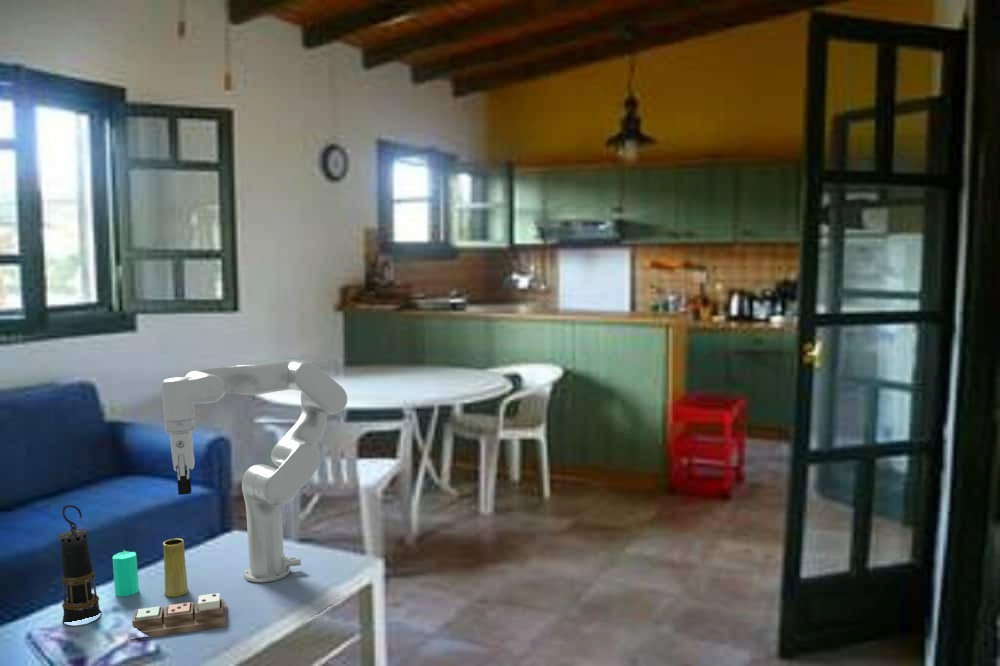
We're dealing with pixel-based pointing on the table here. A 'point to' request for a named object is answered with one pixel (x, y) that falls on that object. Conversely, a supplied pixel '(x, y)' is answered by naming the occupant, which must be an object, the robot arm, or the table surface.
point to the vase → (175, 568)
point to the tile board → (182, 621)
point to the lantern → (77, 574)
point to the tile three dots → (179, 608)
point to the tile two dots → (209, 602)
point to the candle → (125, 573)
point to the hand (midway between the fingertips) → (185, 493)
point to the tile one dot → (148, 613)
